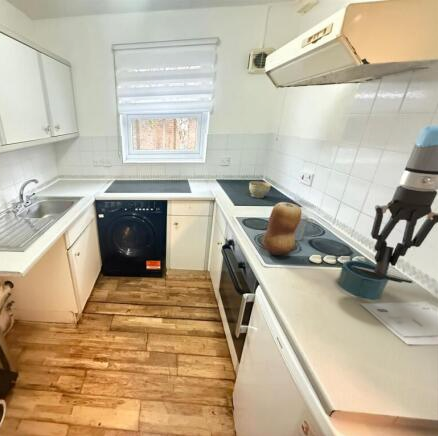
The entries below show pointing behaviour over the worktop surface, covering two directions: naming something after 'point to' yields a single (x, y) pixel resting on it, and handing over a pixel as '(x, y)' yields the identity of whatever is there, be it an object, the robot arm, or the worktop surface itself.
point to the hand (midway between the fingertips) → (384, 261)
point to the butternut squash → (282, 228)
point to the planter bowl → (259, 189)
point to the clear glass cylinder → (301, 227)
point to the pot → (361, 280)
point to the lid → (383, 268)
